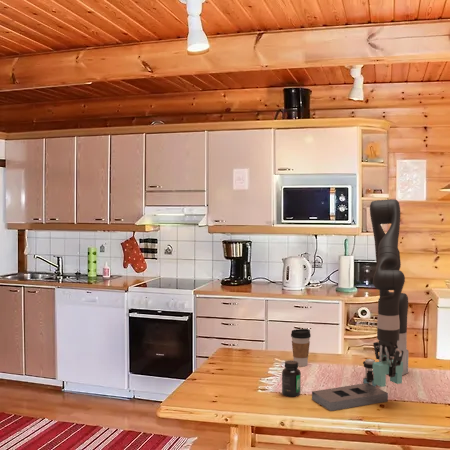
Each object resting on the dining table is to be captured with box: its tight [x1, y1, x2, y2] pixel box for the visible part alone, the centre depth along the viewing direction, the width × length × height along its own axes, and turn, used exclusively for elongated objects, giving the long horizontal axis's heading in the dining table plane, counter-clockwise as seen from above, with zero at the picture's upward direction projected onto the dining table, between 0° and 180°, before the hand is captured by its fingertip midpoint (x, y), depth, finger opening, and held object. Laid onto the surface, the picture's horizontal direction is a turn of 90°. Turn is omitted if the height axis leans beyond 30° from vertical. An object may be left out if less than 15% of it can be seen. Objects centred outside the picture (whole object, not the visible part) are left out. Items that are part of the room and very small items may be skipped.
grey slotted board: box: [311, 383, 389, 412], centre depth 209 cm, size 24×12×3 cm, turn 113°
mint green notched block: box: [372, 360, 403, 388], centre depth 205 cm, size 10×4×8 cm, turn 113°
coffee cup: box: [290, 328, 311, 367], centre depth 252 cm, size 8×8×15 cm
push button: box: [362, 358, 377, 387], centre depth 224 cm, size 7×5×10 cm
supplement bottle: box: [281, 360, 302, 398], centre depth 215 cm, size 7×7×12 cm
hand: (387, 374), depth 205 cm, fingers closed on mint green notched block, 4 cm apart
